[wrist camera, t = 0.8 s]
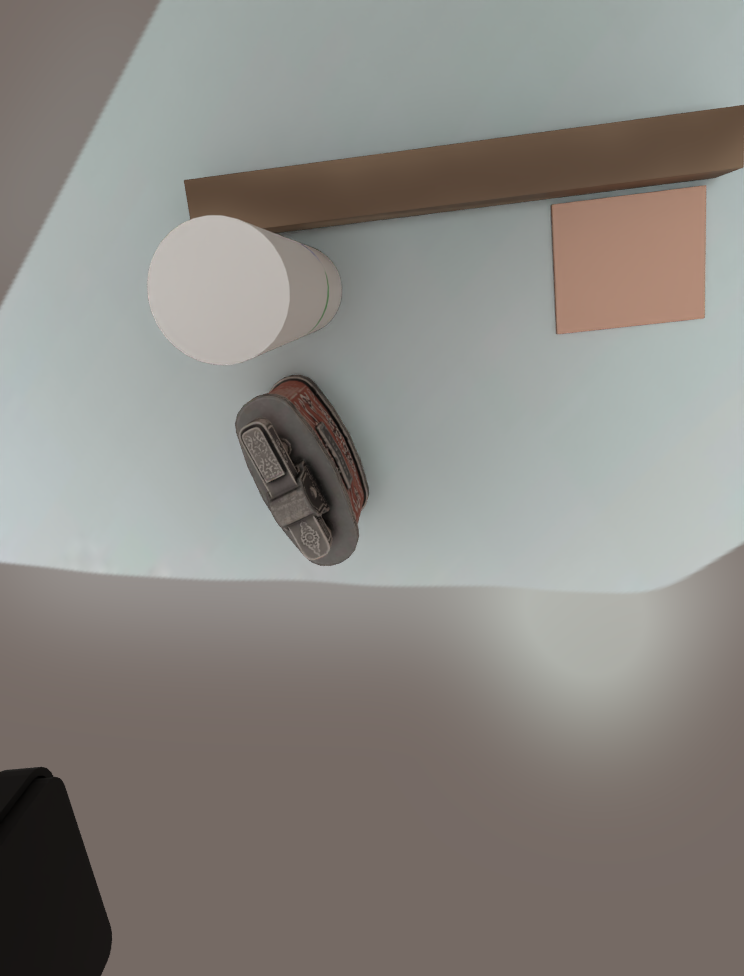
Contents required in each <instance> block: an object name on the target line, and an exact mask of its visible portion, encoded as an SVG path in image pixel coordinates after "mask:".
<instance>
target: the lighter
mask: <svg viewBox="0 0 744 976" xmlns="http://www.w3.org/2000/svg"><path fill="white" fill-rule="evenodd" d="M235 427H236V433H237V436H238V439H239V442H240V445H241V448H242V451H243V454H244V457H245V460H246V463H247V466H248V468H249V471H250V473H251V475H252V477H253V479H254V481H255V483H256V486H257V488H258V490H259V492H260V494H261V496H262V498H263V500H264V502H265V503H266V505H267V506H268V508H269V510H270V511H271V513H272V515H273V517H274V519H275V520H276V522H277V523H278V525H279V526H280V527H281V528H282V530H283V531H284V532H285V533H286V535H287V536H288V537H289V538H290V539H291V541H292V542H293V543H294V544H295V546H296V547H297V548H298V549H299V550H300V552H301V553H302V554H303V555H304V556H305V557H306V558H307V559H308V560H309V561H311V562H312V563H315V564H318V565H320V566H332V565H335V564H339V563H341V562H343V561H344V560H346V559H347V558H349V557H350V556H351V554H352V553H353V552H354V551H355V548H356V545H357V542H358V538H359V530H358V525H357V524H358V521H359V517H360V513H361V511H362V509H363V508H364V507H365V505H366V502H367V499H368V496H369V488H368V484H367V480H366V477H365V473H364V470H363V467H362V463H361V460H360V457H359V455H358V453H357V450H356V448H355V446H354V443H353V441H352V439H351V436H350V434H349V432H348V430H347V429H346V427H345V425H344V424H343V422H342V420H341V419H340V417H339V415H338V414H337V412H336V410H335V409H334V407H333V406H332V404H331V403H330V402H329V400H328V399H327V398H326V397H325V395H324V394H323V393H322V391H321V390H320V389H319V388H318V386H317V385H316V384H315V383H314V382H313V381H312V380H311V379H310V378H308V377H306V376H303V375H291V376H288V377H284V378H283V379H281V380H280V381H279V382H277V383H276V384H275V385H274V386H273V387H272V389H271V390H270V391H269V393H268V394H263V395H260V396H257V397H255V398H253V399H252V400H251V401H249V402H248V403H246V404H245V405H244V406H243V407H242V408H241V410H240V411H239V413H238V414H237V418H236V422H235Z"/></svg>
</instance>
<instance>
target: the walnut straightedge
mask: <svg viewBox="0 0 744 976" xmlns="http://www.w3.org/2000/svg"><path fill="white" fill-rule="evenodd" d="M743 167H744V105H740V106H733V107H726V108H718V109H711V110H703V111H696V112H688V113H681V114H673V115H666V116H658V117H651V118H644V119H636V120H629V121H621V122H614V123H606V124H599V125H591V126H584V127H577V128H569V129H562V130H554V131H547V132H539V133H532V134H524V135H517V136H510V137H502V138H495V139H487V140H480V141H472V142H465V143H457V144H450V145H443V146H435V147H428V148H420V149H413V150H405V151H398V152H390V153H383V154H376V155H368V156H361V157H353V158H346V159H338V160H331V161H323V162H316V163H308V164H301V165H294V166H286V167H279V168H271V169H264V170H256V171H249V172H241V173H234V174H227V175H219V176H212V177H204V178H197V179H189V180H184V184H185V190H186V196H187V202H188V208H189V214H190V220H191V219H193V218H197V217H202V216H207V215H222V216H227V217H231V218H235V219H239V220H241V221H244V222H246V223H249V224H252V225H254V226H257V227H259V228H262V229H265V230H267V231H270V232H273V233H281V232H289V231H297V230H305V229H313V228H321V227H329V226H337V225H345V224H352V223H360V222H368V221H376V220H384V219H392V218H400V217H408V216H416V215H424V214H432V213H440V212H448V211H456V210H464V209H472V208H480V207H488V206H496V205H503V204H511V203H519V202H527V201H535V200H543V199H551V198H559V197H567V196H575V195H583V194H591V193H599V192H607V191H615V190H623V189H631V188H639V187H646V186H654V185H662V184H670V183H678V182H686V181H694V180H702V179H710V178H716V177H719V176H721V175H724V174H727V173H730V172H732V171H735V170H738V169H740V168H743Z"/></svg>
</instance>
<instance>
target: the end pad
mask: <svg viewBox="0 0 744 976" xmlns="http://www.w3.org/2000/svg"><path fill="white" fill-rule="evenodd" d="M551 216H552V239H553V263H554V286H555V310H556V333H557V334H564V333H573V332H582V331H591V330H601V329H610V328H619V327H628V326H637V325H647V324H656V323H665V322H674V321H683V320H693V319H702V318H705V245H706V185H705V186H697V187H689V188H681V189H673V190H665V191H657V192H649V193H641V194H633V195H625V196H617V197H609V198H601V199H593V200H585V201H577V202H569V203H561V204H553V205H551Z"/></svg>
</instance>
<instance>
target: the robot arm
mask: <svg viewBox="0 0 744 976" xmlns="http://www.w3.org/2000/svg"><path fill="white" fill-rule="evenodd" d="M111 943H112V931H111V926H110V923H109V920H108V917H107V914H106V911H105V908H104V905H103V902H102V898H101V895H100V893H99V889H98V886H97V883H96V880H95V877H94V874H93V871H92V868H91V865H90V862H89V859H88V856H87V852H86V850H85V846H84V843H83V840H82V837H81V834H80V831H79V828H78V825H77V822H76V819H75V816H74V813H73V810H72V807H71V804H70V800H69V797H68V794H67V791H66V788H65V785H64V783H63V781H62V780H61V779H60V778H58V777H53V775H52V773H51V772H50V771H49V770H48V769H47V768H44V767H35V768H25V769H13V770H4V771H2V772H0V976H101V974H102V972H103V970H104V968H105V965H106V963H107V961H108V958H109V955H110V950H111Z"/></svg>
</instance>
